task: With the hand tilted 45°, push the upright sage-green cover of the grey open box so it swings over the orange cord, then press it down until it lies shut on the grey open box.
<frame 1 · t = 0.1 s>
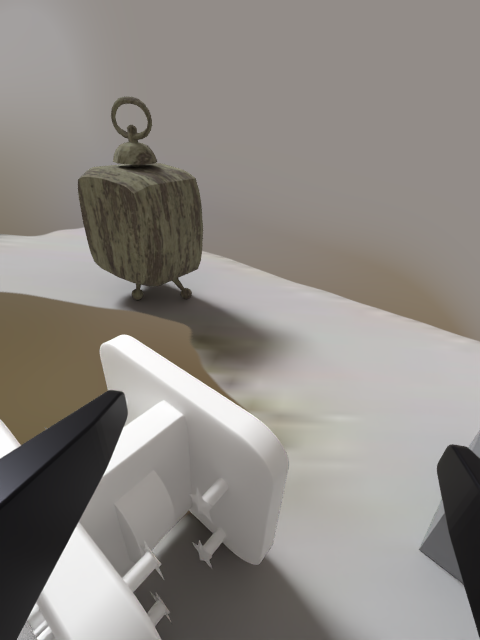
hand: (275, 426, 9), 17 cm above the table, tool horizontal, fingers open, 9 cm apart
cable organizer: (140, 553, 21), on the table
tabletop clock: (148, 295, 50), on the table
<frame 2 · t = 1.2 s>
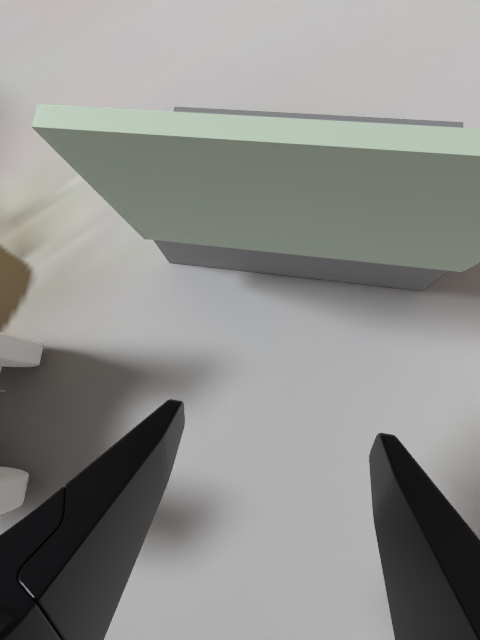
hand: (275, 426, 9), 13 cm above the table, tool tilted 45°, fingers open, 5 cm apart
duct cover: (302, 208, 14), point 10 cm above the table, hinge at -96.0°
grey open box: (296, 220, 25), on the table
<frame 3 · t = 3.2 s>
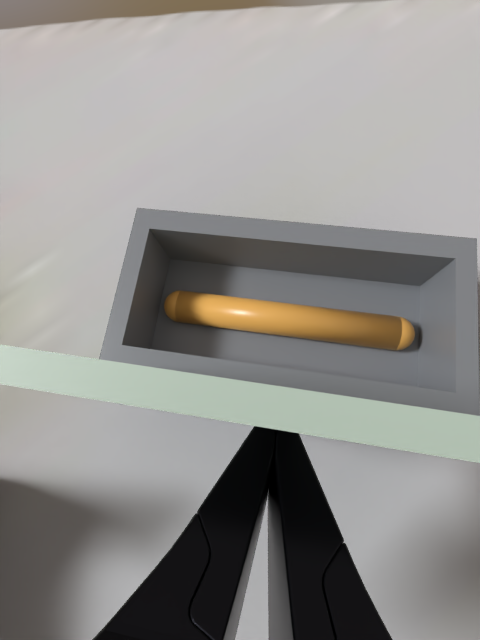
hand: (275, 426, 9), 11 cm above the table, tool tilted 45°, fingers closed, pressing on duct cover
duct cover: (277, 403, 11), point 10 cm above the table, hinge at -91.2°, touching gripper
grey open box: (282, 325, 21), on the table
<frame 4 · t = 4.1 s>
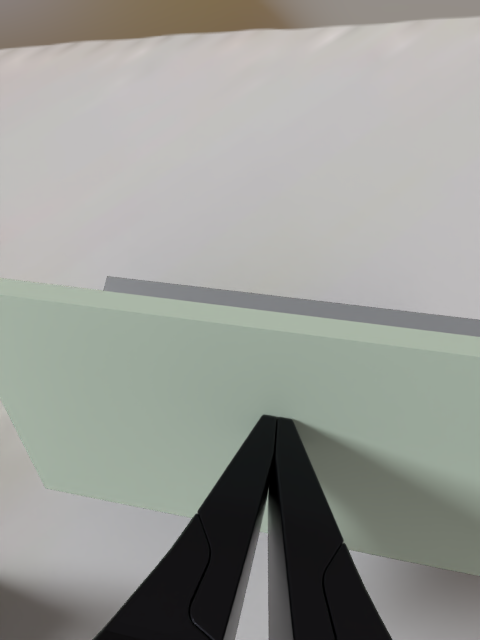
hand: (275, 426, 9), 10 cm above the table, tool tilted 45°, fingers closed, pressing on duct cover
duct cover: (272, 446, 10), point 9 cm above the table, hinge at -46.3°, touching gripper
grey open box: (274, 396, 19), on the table
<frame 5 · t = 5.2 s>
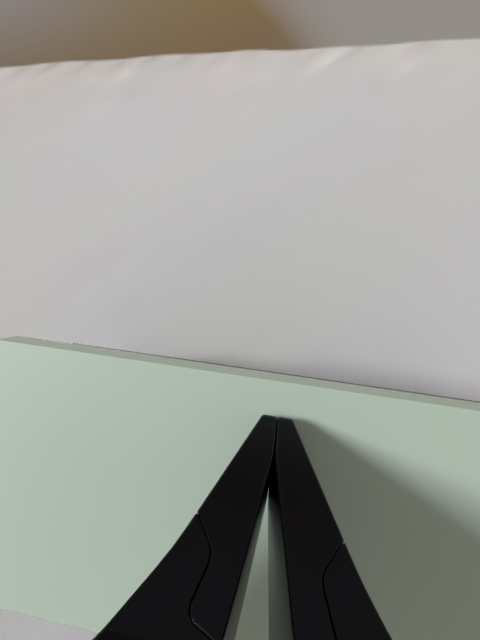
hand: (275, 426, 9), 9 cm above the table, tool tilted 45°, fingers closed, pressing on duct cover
duct cover: (262, 523, 10), point 7 cm above the table, hinge at -19.7°, touching gripper
grey open box: (265, 467, 17), on the table
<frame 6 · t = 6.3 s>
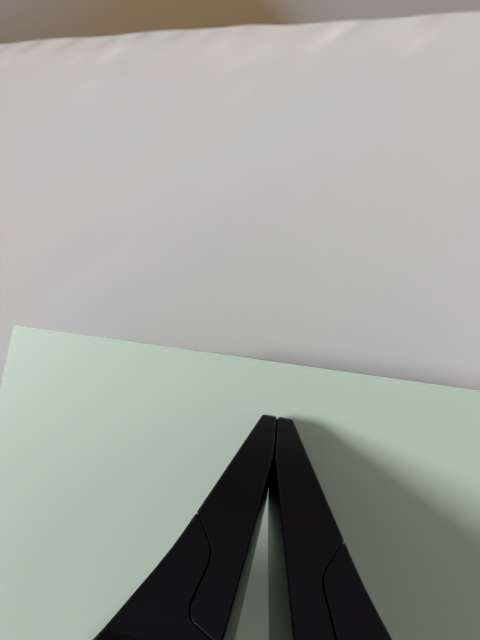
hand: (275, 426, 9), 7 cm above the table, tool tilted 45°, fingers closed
duct cover: (263, 520, 10), point 6 cm above the table, hinge at -6.7°
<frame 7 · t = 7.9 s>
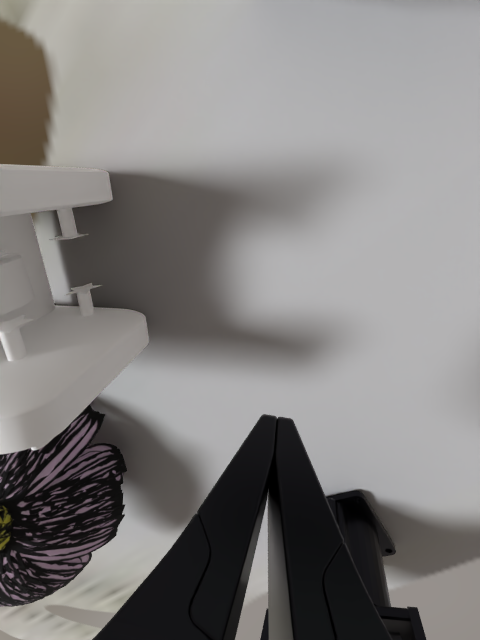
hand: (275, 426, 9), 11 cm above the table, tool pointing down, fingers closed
cable organizer: (50, 258, 22), on the table
decorative flower: (69, 447, 29), on the table
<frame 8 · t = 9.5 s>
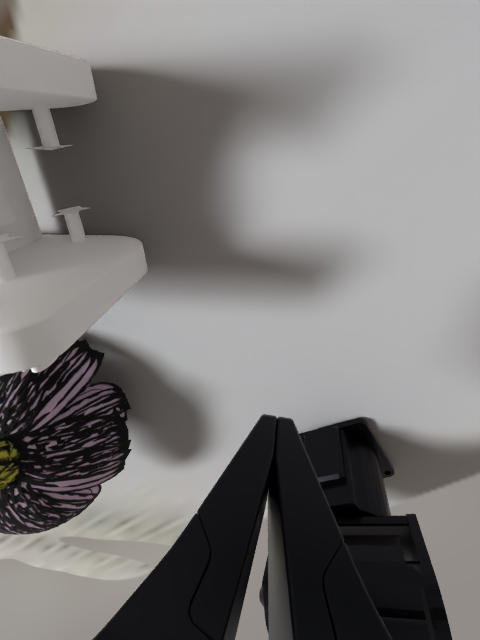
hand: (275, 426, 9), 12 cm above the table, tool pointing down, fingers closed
cable organizer: (30, 181, 20), on the table
decorative flower: (69, 388, 29), on the table
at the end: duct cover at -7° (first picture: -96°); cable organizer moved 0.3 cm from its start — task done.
